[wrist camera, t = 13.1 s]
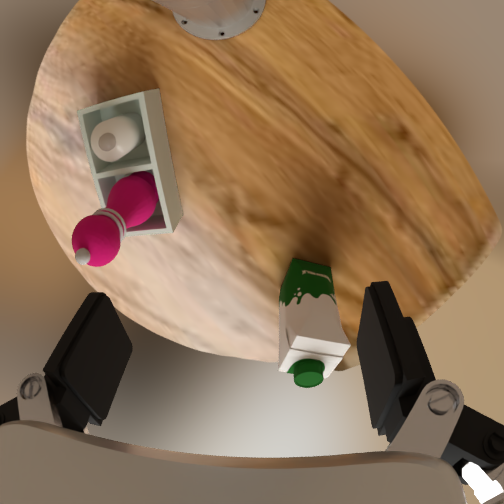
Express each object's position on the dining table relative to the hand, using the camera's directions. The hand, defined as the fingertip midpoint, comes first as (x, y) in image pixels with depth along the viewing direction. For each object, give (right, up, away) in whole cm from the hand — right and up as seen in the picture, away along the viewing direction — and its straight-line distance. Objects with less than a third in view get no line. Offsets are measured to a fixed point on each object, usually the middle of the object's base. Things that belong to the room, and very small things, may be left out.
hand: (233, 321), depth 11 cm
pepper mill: (-16, +12, +36) cm, 41 cm away
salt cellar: (-17, +20, +30) cm, 40 cm away
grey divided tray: (-17, +17, +34) cm, 41 cm away
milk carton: (+10, -2, +44) cm, 45 cm away
